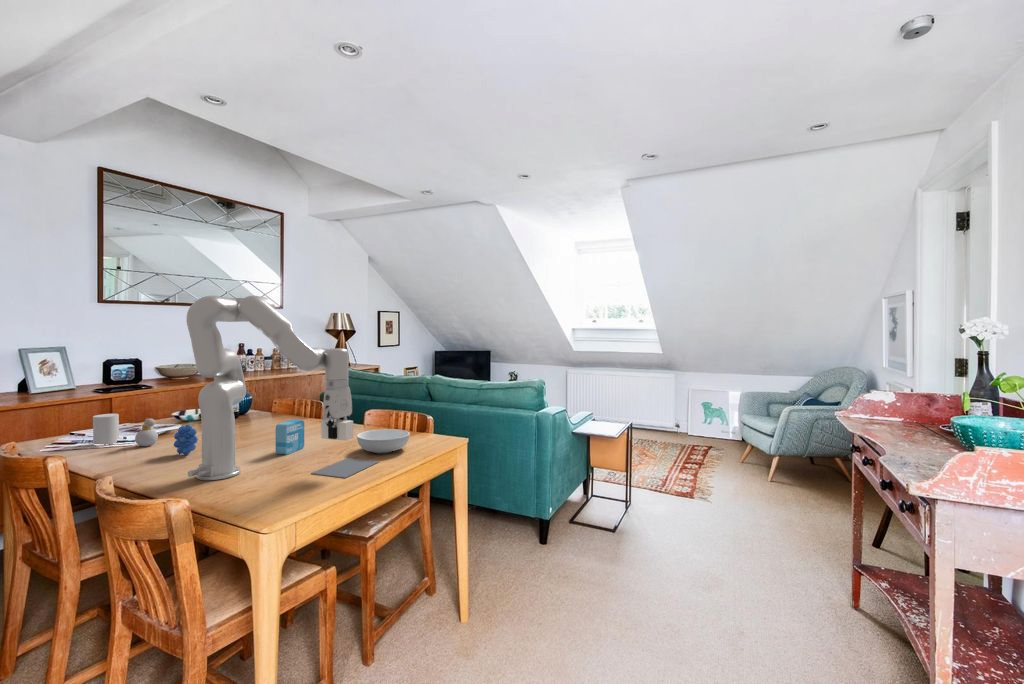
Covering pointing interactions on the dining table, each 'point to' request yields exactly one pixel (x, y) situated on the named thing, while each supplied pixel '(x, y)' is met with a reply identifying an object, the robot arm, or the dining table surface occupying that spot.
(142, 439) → the perfume bottle
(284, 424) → the data package
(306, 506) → the dining table surface
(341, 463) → the mat
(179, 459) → the dining table surface
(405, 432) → the serving bowl
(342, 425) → the white rectangular block
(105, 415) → the cup
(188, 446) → the grapes
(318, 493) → the dining table surface
